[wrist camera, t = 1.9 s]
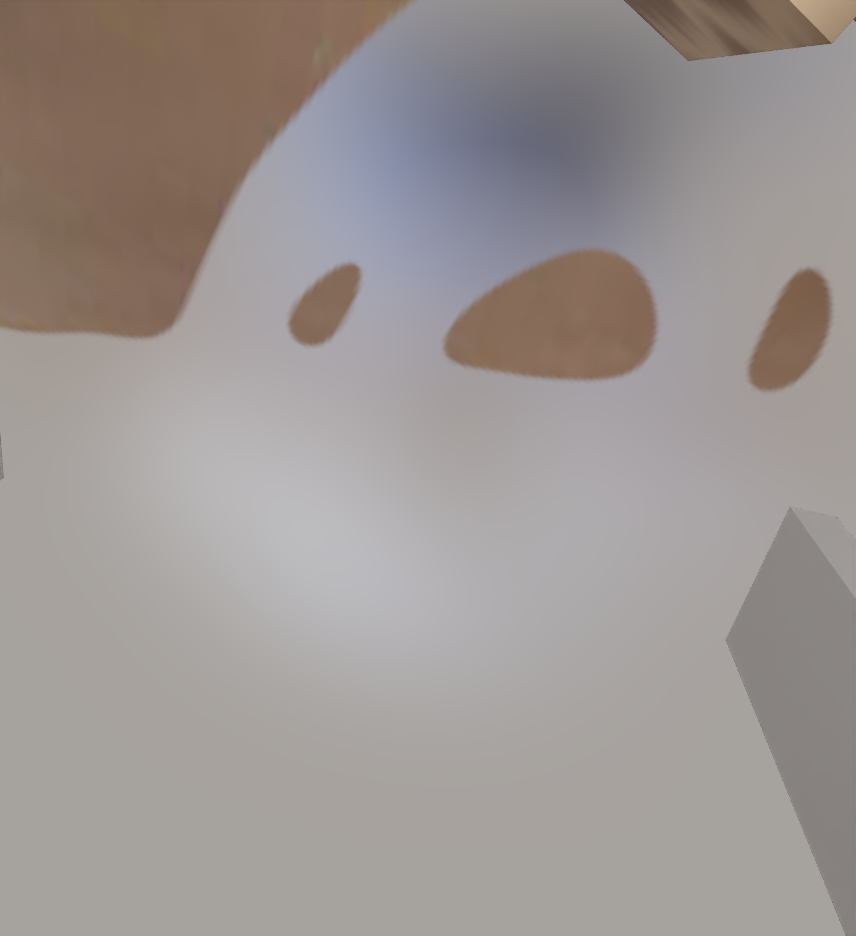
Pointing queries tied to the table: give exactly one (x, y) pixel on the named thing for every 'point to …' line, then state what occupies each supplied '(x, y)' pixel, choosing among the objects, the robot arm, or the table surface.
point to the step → (744, 24)
